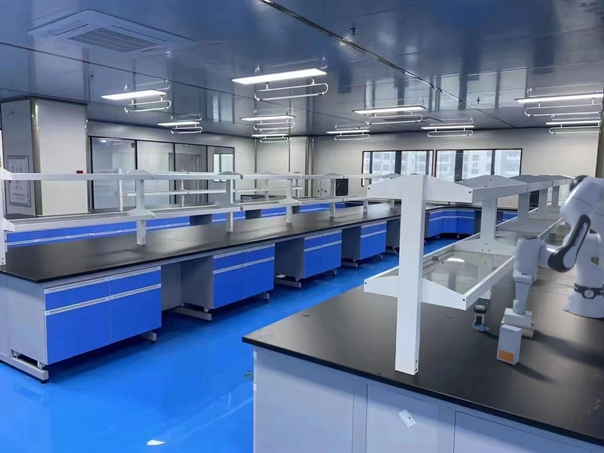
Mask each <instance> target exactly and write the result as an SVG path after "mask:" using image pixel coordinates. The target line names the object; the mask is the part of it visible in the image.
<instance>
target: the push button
mask: <svg viewBox="0 0 604 453" xmlns="http://www.w3.org/2000/svg"><path fill="white" fill-rule="evenodd" d="M487 311H488V308H486V306H485V305H481V304H476V305H475V306H474V307H473V312H474V320H473V322H472V325H471V327H472V330H475V331H479V332H484V331H487V332H488V331H489V329H490V328H489V327H486V323H485V315H486V314H487Z"/></svg>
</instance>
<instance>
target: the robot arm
mask: <svg viewBox="0 0 604 453" xmlns="http://www.w3.org/2000/svg"><path fill="white" fill-rule="evenodd" d="M559 215H560V217H561V219H562V220H563V221H564V222H565V223H566V224H568V225H570V227H571V228H570V230H569V233H567V234H566V235H565V236H564V238H563V240H562V245H560V246H558V245H552V244H549V243H547V242H545V241H542V240H541V239H540V237H538V236H537V235H533V234H531V235H527V234H526V235H522V236H520V237H518V239H517V241H516V245H515V251H514V259H515V261H514V264H513V269H512V270H513V271H512V278H513V279H514V282H515V300H518V309H519V310H523V306H524V302H525V301H526V302H527V300H528V296H529V291H530V287H531V285H532V284H533V282H536V280H537V276H538V268H539V267H538V266H540V267H543V268H546V269H549V270H552V271H555V272H557V273H560V274H561V273H562V274H564V273H567V272H569V271H571V270H573V268H574V266H575V267H576V272H575V273H576V276H575V278H576V279H575V282H574V284H573V292H571V293H570V294H569V295H567V304H565V306H564V307H563V308H562V310H563V311H566V312H569V313H570V314H574V315H577V316H579V317H585V318H586V317H587V318H594V319H600V318H604V296H603V295H604V268H602V267H601V266H599V265H598V264H596V263H594V262H593V261H592V258H602V259H604V178H601V177H595V176H589V175H586V174H580V175H578V176H575V177H574V178H573V179H572V181H571V183H570V185H569V193H568V194H567V196H566V198H565V199H564V201H562V203H561V205H560V207H559ZM590 230H592V231H594V232H595V233H589V231H590Z"/></svg>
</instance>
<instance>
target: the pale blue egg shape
mask: <svg viewBox="0 0 604 453" xmlns="http://www.w3.org/2000/svg"><path fill="white" fill-rule="evenodd" d="M512 302H513V304H512V309H513V313H515V314H519V315H525V314H526V311H527V305H528V302H527V300H526V301H525V302H524V306H523V310H519V309H518V300H516V299H513V301H512Z"/></svg>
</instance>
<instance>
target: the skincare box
mask: <svg viewBox="0 0 604 453" xmlns="http://www.w3.org/2000/svg"><path fill="white" fill-rule="evenodd" d="M500 326H501V325H500ZM500 326H499V327H500ZM521 342H522V329H521V328H517V327H514V326H509V325H506V324H504V325H502V326H501V327H500V328H499V335H498V345H497V354H496V360H500V361H501V362H505V363H508V364H512V365H513V366H514V365H516V364H517V363H518V362H519V360H520V359H519V358H520V350H521Z"/></svg>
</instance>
